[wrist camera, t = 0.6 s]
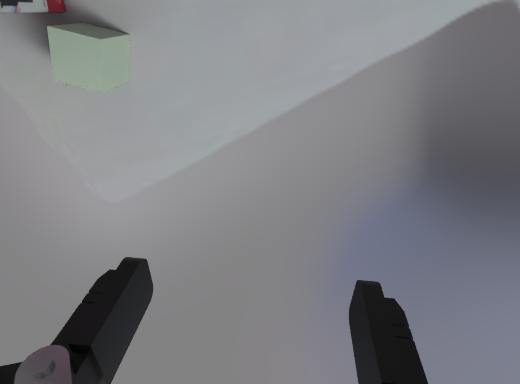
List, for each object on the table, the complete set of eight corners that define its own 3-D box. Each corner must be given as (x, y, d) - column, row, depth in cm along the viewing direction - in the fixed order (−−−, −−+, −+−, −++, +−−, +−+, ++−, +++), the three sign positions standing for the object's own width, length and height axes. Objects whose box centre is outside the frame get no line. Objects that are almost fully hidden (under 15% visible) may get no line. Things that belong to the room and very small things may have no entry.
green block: (84, 22, 34) (46, 25, 29) (129, 34, 34) (100, 39, 29) (87, 70, 37) (53, 80, 32) (129, 80, 37) (102, 92, 32)
